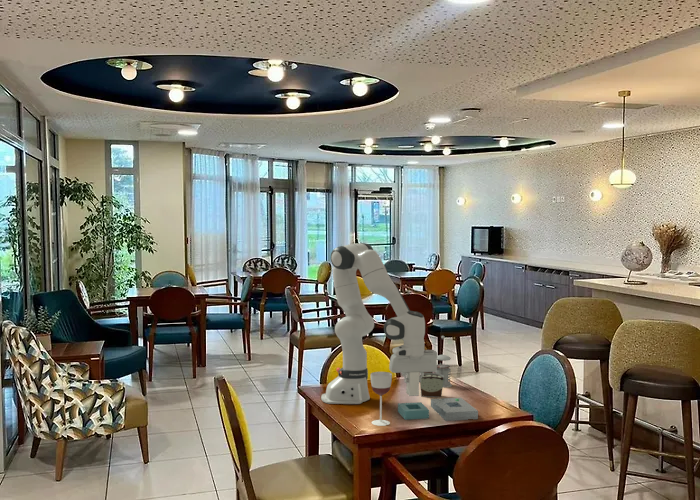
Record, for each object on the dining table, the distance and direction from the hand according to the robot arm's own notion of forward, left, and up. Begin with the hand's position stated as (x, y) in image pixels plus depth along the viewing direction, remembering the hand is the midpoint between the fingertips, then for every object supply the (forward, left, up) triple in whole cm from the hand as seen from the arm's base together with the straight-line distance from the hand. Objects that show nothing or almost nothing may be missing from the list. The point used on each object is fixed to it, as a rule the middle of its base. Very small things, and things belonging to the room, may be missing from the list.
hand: (412, 382), depth 263 cm
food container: (+17, +28, -14) cm, 36 cm away
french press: (+28, +44, -14) cm, 54 cm away
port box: (+18, 0, -14) cm, 23 cm away
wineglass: (-16, -8, -14) cm, 23 cm away
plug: (0, 0, -5) cm, 5 cm away
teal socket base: (0, 0, -14) cm, 14 cm away
